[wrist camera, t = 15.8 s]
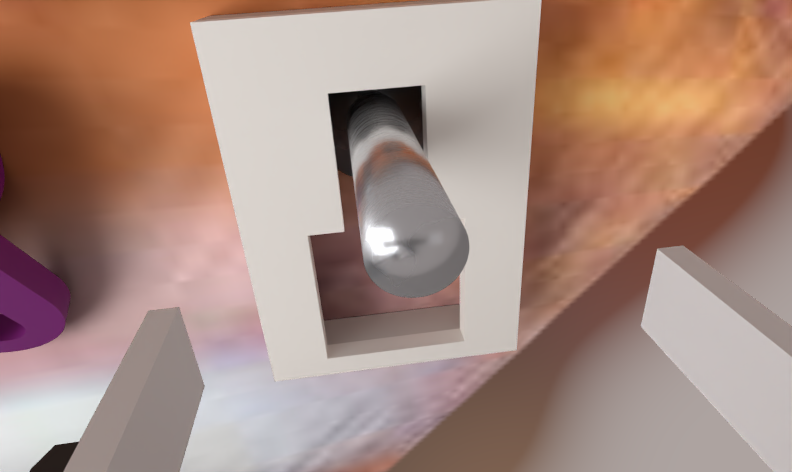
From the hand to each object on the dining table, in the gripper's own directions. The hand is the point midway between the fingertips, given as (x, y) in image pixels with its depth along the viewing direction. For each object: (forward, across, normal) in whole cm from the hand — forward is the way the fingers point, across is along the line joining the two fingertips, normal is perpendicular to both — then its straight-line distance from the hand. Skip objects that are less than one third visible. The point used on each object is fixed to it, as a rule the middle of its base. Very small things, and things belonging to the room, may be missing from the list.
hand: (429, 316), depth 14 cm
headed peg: (+21, 0, 0) cm, 21 cm away
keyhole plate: (+21, 0, +5) cm, 22 cm away
